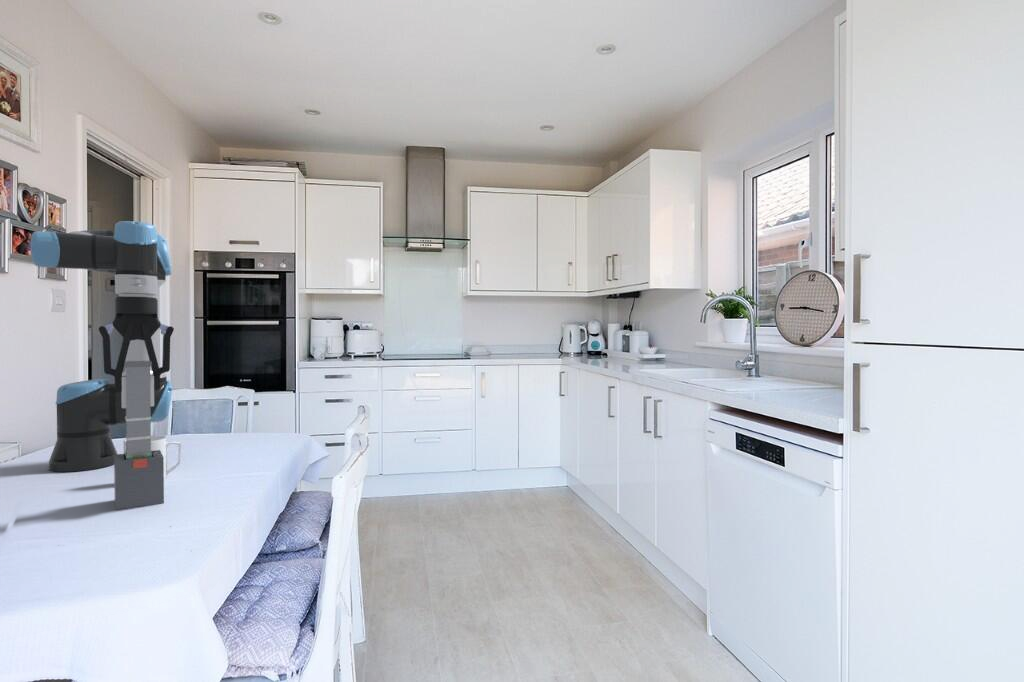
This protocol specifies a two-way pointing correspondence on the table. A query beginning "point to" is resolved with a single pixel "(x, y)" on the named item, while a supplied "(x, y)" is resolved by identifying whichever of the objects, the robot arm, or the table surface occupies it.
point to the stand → (138, 481)
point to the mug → (162, 450)
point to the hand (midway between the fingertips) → (137, 406)
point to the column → (138, 409)
